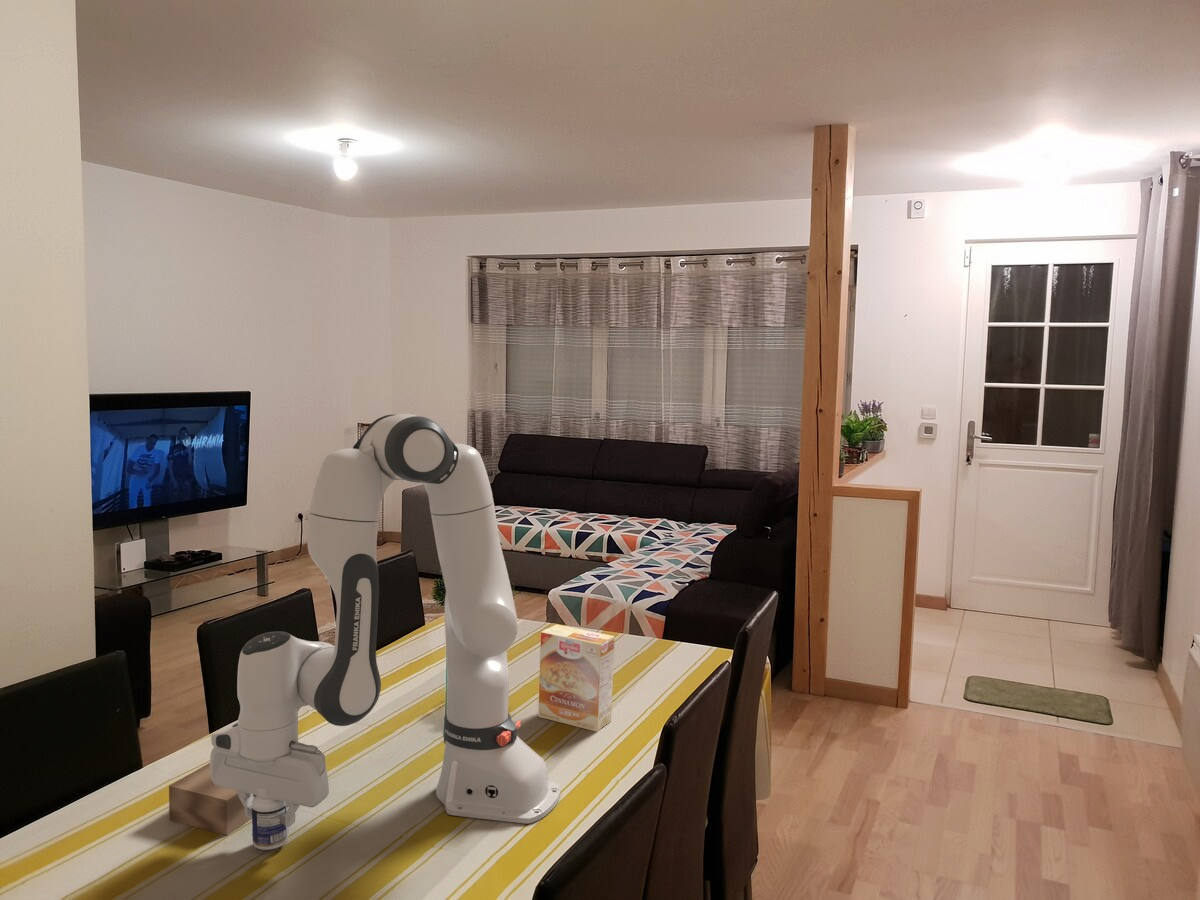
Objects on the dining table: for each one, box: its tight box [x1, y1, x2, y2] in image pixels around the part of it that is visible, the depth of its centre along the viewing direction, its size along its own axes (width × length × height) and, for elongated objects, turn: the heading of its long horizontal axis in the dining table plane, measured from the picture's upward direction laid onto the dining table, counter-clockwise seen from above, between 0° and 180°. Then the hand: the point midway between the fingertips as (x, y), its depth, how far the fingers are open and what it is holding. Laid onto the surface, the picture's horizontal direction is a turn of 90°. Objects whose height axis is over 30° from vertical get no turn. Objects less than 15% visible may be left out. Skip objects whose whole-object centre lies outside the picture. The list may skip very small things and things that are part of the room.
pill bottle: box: [251, 788, 290, 851], centre depth 139 cm, size 5×5×10 cm
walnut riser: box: [168, 762, 256, 836], centre depth 150 cm, size 12×12×6 cm
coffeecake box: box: [538, 623, 615, 733], centre depth 192 cm, size 15×7×20 cm, turn 63°
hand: (270, 820), depth 140 cm, fingers closed on pill bottle, 5 cm apart
